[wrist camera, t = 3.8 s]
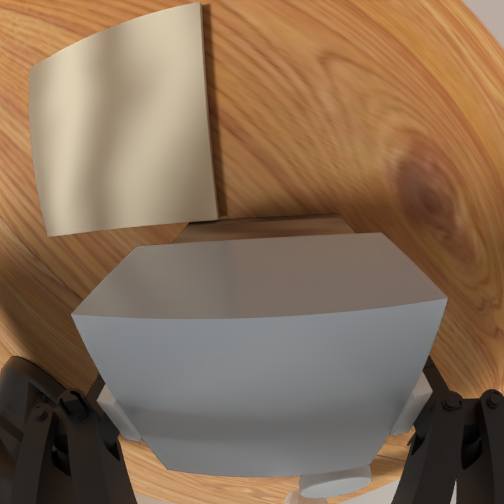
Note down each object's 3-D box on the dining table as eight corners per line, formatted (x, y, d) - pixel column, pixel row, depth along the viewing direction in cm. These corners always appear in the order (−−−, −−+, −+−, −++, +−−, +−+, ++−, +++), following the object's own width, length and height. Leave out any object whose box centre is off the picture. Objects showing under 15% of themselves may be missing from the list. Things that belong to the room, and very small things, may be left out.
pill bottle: (295, 358, 20) (305, 478, 11) (363, 361, 20) (396, 467, 11) (280, 401, 22) (282, 502, 13) (340, 403, 22) (357, 496, 13)
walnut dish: (210, 338, 19) (197, 390, 15) (189, 222, 16) (160, 257, 11) (331, 333, 19) (345, 385, 14) (338, 214, 15) (367, 246, 11)
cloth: (52, 234, 17) (47, 237, 16) (34, 69, 12) (29, 68, 11) (219, 216, 16) (217, 219, 15) (201, 5, 11) (199, 1, 10)
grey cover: (185, 400, 15) (167, 469, 10) (136, 246, 11) (70, 314, 6) (352, 394, 14) (369, 464, 10) (381, 232, 10) (448, 298, 6)
